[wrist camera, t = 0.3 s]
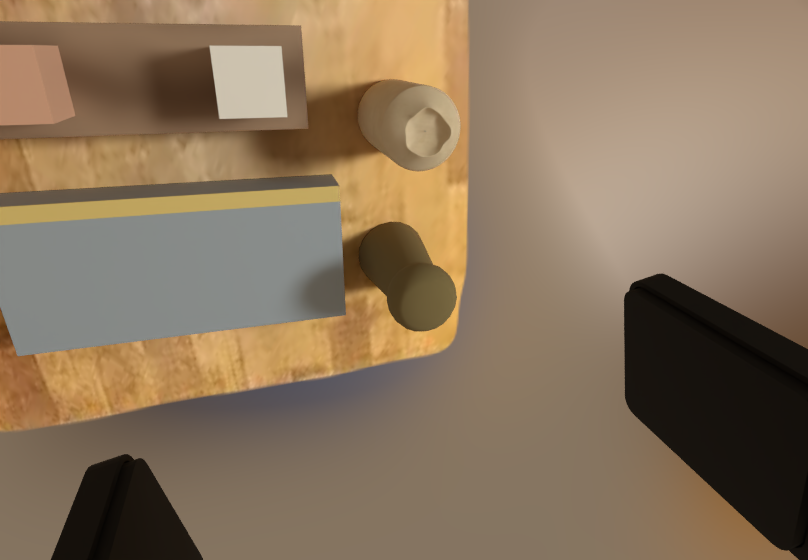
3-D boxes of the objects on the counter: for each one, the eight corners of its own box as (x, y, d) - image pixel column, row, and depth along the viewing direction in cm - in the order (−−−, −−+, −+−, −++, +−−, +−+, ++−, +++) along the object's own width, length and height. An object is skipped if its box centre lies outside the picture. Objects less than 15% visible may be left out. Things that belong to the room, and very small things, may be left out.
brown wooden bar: (-25, 24, 32) (-63, 20, 28) (295, 28, 37) (301, 25, 33) (8, 129, 35) (-23, 140, 31) (302, 120, 40) (308, 128, 36)
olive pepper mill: (360, 288, 47) (389, 350, 37) (356, 225, 44) (386, 274, 35) (423, 279, 48) (467, 337, 39) (422, 218, 46) (469, 263, 36)
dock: (-8, 193, 36) (-36, 209, 33) (331, 174, 42) (339, 185, 38) (37, 329, 41) (17, 356, 37) (338, 294, 46) (345, 315, 43)
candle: (357, 76, 40) (388, 84, 31) (425, 81, 41) (473, 89, 32) (355, 149, 42) (383, 175, 33) (419, 150, 43) (463, 176, 34)
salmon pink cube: (-21, 45, 29) (-58, 44, 26) (57, 45, 30) (32, 45, 27) (1, 117, 31) (-30, 126, 28) (75, 115, 32) (54, 123, 28)
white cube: (213, 46, 33) (209, 45, 29) (277, 46, 33) (281, 46, 30) (222, 111, 34) (219, 118, 31) (283, 110, 35) (287, 117, 32)
